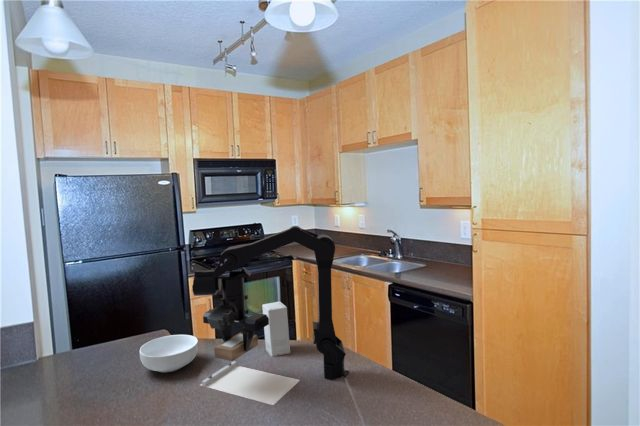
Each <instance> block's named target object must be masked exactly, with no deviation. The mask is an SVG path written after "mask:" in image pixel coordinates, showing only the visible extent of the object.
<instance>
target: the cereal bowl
mask: <svg viewBox="0 0 640 426" xmlns="http://www.w3.org/2000/svg"><path fill="white" fill-rule="evenodd" d="M198 351H199V341H198V338H197V337H196V336H194V335H190V334H172V335H171V334H170V335H165V336H161V337H157V338H154V339H151V340H150V341H147V342H145V343H144V344H143V345H141V346H140V349H139V359H140V362H141V364H142V365H143V366H144V367H145V368H146V369H148V370H150V371H155V372H158V373H159V372H160V373H163V374H164V373H171V372H176V371H177V370H180V369H181V368H184V367H185V366H186V365H189V363H191V362H192V361H193V360H194V359H195V358H196V356H197V354H198Z"/></svg>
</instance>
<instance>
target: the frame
mask: <svg viewBox="0 0 640 426" xmlns="http://www.w3.org/2000/svg"><path fill="white" fill-rule="evenodd" d="M258 336H259V335H257V334H254V336H253V339H252V341H251V344H250V346H249V349H248V351H246V352H245V351H244V344H243V334H242V333H241V332H239V333H237V334H235V335H233V336H231V338H230V339H228V340H226V341H223V342H221V343H220V344H218V345H216V346H214V347H213V349H214V358H215V359H220V360H225V361H228V362H233V361H235V360H237V359H238V358H240V357H241V356H243V355H245V354H246V353H248V352H249V351H251V350H252V349H254V348H256V347H257V346H259V340H258V339H259V337H258Z"/></svg>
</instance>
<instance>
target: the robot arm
mask: <svg viewBox="0 0 640 426" xmlns="http://www.w3.org/2000/svg"><path fill="white" fill-rule="evenodd" d="M292 243H293V244H294V243H297V244H299V245H301V246H303V247H304V248H307V250H308V249H309V250H311V251H313V252H314V257H315V262H316V268H317V296H318V297H317V298H318V302H317V303H318V316H317V317H318V318H317V321H312V329H313V333H312V341H313V343H312V344H313V345H315V347H316V350H317V352H319V353H320V354H321V355H323V377H324V380H329V381H334V380H336V379H340V378H343V379H346V377H347V376H348V375H349V374H350V371H349V370H346V369H345V356H346V352H345V351H346V350H345V347H344V344H343V341H342V340H341V339H340V337H338V336H337V334H336V331H335V327H334V321H333V302H332V301H333V298H332V294H333V293H332V290H333V289H332V268H333V264H334V258H335V253H336V245H335V242H334V241H333V239H332V238H331V237H330V236H329V235H327V234H322V233H321V234H317V233H314V232H311V231H309V230H306V229H304V228H302V227H300V226H298V225H292V226H291V227H289V228H288V229H285V230H282V231H279V232H277V233H274V234H271V235H269V236H266V237H264V238H261V239H259V240H256V241H254V242H251V243H244V244H238V245H233V246H229V247H227V248H226V249H225V250H224V251H222V252H221V254H220V255H219V257H218V262H219V263H218V265H217V266H216V267H215V268H214V269H210V270H207V269H206V270H203V269H201V270H200V269H197V270H196V271H194V272H193V273H194V274H193V276H194V277H193V280H192V285H191V286H192V287H191V289H192V294H193V296H194V297H197V296H198V297H203V296H217V294H218V292H220V291H221V289H222V298H220V299H219V305H218V307H214V308H211V309H209V310H207V311H205V312H204V314H203V316H202V320H203V321H202V322H203V323H202V324H207V325H209V326H210V329H211V330H212V329H213V330H214V329H216V330H218V332H219V334H220V336H221V339H222V341H223V342H224V341H226V340H228V339H230V338H232V329H233V323H238V324H243V328H240V329H239V333H242V334H243V344H244V351H245V352H246V351H248V349H249V346H250V344H251V341H252V339H253V336H254V335H256V332H258V331H260V330H262V329H264V327H265V326H267V325H269V318H268V316H267V315H266V314H263V313H257V312H256V313H253V314H251V315H250V316H246V315H249V312H250V311H249V309H246V300H247V299H249V297H248V294H245V281H244V280H245V278H249V277H250V276H251V274H252V273H251V271H249V270H248V269H247V268H246V267H242V266H244V265H245V264H247V263H248V262H250V261H251V260H253V259H254V258H257V257H259V256H261V255H264V254H266V253H267V254H268V253H269V252H272V251H274V250H277V249H279V248H280V249H281V248H282V247H285V246H287V245H290V244H292ZM240 267H242V268H241V270H237V269H239V268H240ZM227 272H229V273H227ZM248 352H249V351H248ZM246 353H247V352H246Z"/></svg>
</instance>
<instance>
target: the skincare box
mask: <svg viewBox="0 0 640 426" xmlns="http://www.w3.org/2000/svg"><path fill="white" fill-rule="evenodd" d="M261 308H262V314H266V315H267V316H268V318H269V325H267V326H265V327H264V328H263V331H264V332H263V333H264V343H265V344H264V345H265V350H266V352H267V354H268V355H269V356H270V357H277V356H281V355H286V354H287V355H288V354H291V348H290V347H291V343H290V335H289V334H290V333H289V331H290V330H289V318H288V307H287V306H286V305H285V304H284V303H282V302H281V301H274V302H269V303H264V304H262V307H261Z"/></svg>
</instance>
